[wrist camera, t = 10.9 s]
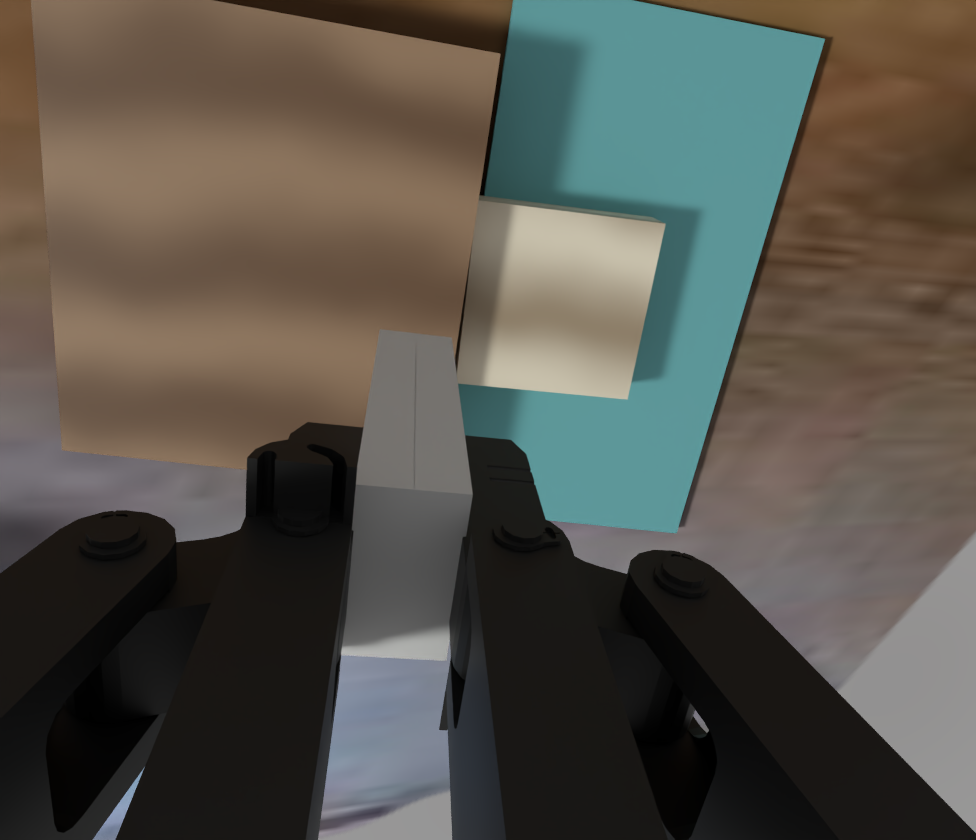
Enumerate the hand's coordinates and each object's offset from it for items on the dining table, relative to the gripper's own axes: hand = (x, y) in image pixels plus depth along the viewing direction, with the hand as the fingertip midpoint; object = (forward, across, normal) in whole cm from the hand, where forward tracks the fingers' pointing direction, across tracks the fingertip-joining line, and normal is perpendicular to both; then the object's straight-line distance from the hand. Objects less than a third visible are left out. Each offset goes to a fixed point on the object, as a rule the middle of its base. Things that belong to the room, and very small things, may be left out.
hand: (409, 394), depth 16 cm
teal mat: (+19, +9, -2) cm, 21 cm away
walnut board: (+19, -6, -1) cm, 20 cm away
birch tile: (+18, +6, -2) cm, 19 cm away
